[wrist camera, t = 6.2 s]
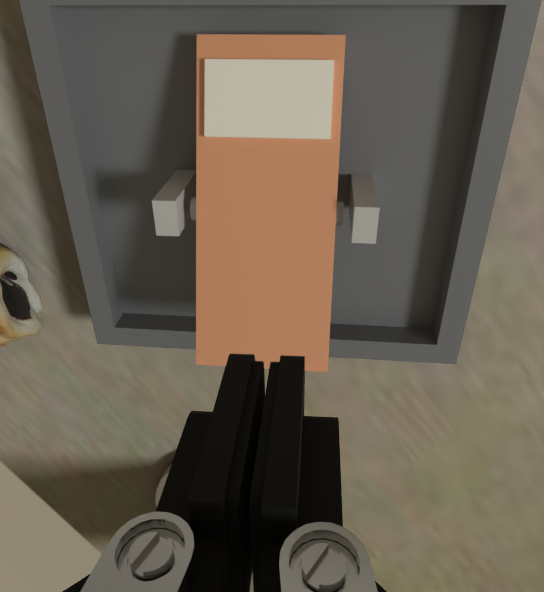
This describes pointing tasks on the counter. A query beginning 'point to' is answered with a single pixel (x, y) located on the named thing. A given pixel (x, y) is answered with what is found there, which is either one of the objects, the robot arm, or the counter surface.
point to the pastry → (17, 300)
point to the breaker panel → (352, 157)
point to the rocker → (266, 195)
